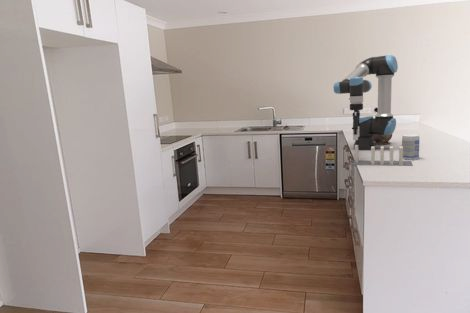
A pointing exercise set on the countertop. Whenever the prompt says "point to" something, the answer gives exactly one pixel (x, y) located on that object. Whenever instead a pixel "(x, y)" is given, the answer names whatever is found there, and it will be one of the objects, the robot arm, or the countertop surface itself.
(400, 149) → the domino
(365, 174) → the countertop surface
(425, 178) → the countertop surface
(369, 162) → the mat
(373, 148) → the domino
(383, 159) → the domino
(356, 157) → the domino
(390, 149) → the domino
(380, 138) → the ceramic jug
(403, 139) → the supplement tub
